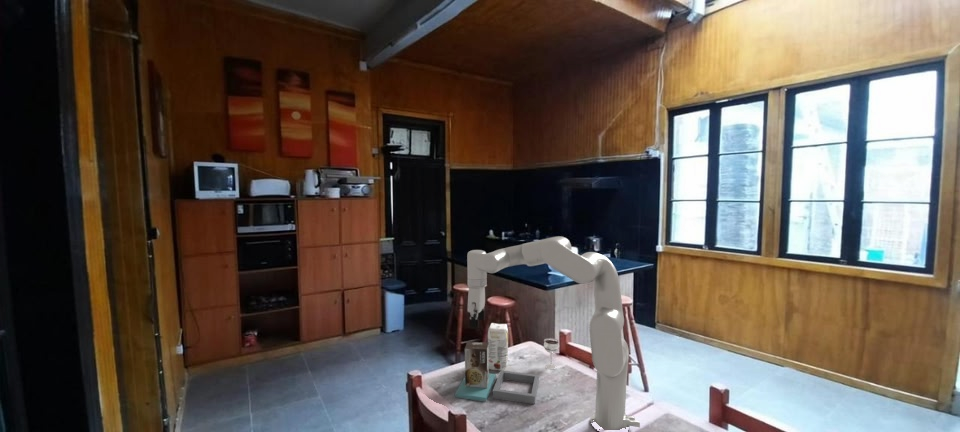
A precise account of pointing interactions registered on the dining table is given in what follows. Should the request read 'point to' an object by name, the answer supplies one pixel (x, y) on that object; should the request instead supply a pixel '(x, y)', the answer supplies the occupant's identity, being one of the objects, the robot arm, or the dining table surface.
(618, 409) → the robot arm
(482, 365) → the cookie box
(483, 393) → the board
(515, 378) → the holder
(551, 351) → the wineglass
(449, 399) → the dining table surface
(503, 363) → the juice carton
